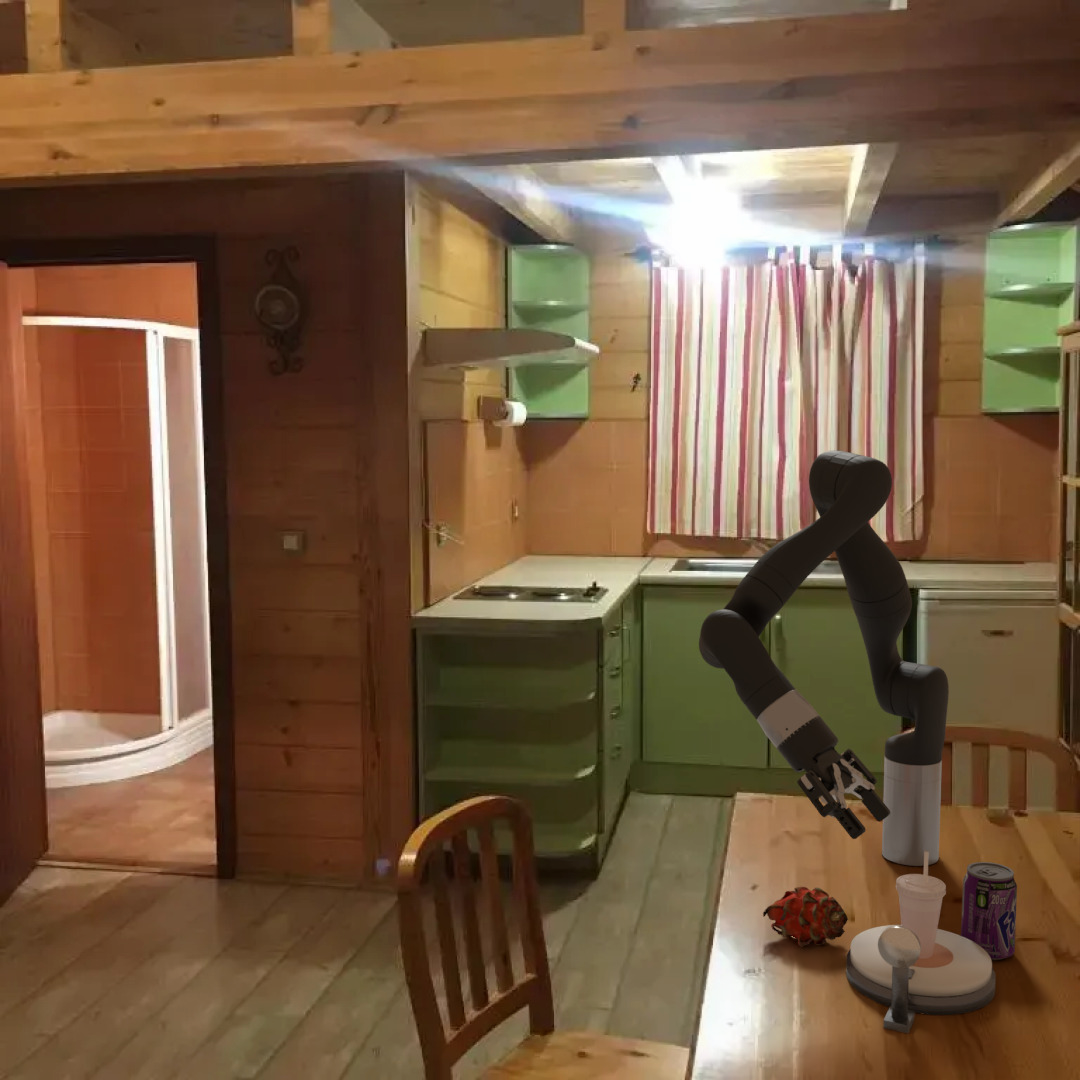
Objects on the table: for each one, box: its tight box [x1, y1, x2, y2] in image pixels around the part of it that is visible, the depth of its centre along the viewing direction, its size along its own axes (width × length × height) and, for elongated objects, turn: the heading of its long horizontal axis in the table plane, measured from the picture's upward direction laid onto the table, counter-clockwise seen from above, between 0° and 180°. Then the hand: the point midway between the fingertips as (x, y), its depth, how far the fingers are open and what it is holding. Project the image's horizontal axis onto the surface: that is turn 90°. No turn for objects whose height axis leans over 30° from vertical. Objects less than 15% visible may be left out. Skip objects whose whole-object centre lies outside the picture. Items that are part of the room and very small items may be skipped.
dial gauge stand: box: [878, 924, 921, 1034], centre depth 153 cm, size 5×5×13 cm
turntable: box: [850, 924, 993, 997], centre depth 165 cm, size 18×18×2 cm
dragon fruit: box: [762, 886, 849, 947], centre depth 177 cm, size 8×8×12 cm
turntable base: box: [845, 948, 996, 1016], centre depth 165 cm, size 19×19×2 cm
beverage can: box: [960, 861, 1018, 961], centre depth 172 cm, size 7×7×12 cm
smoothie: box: [895, 851, 947, 959], centre depth 164 cm, size 6×6×14 cm
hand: (873, 826), depth 167 cm, fingers open, 8 cm apart
